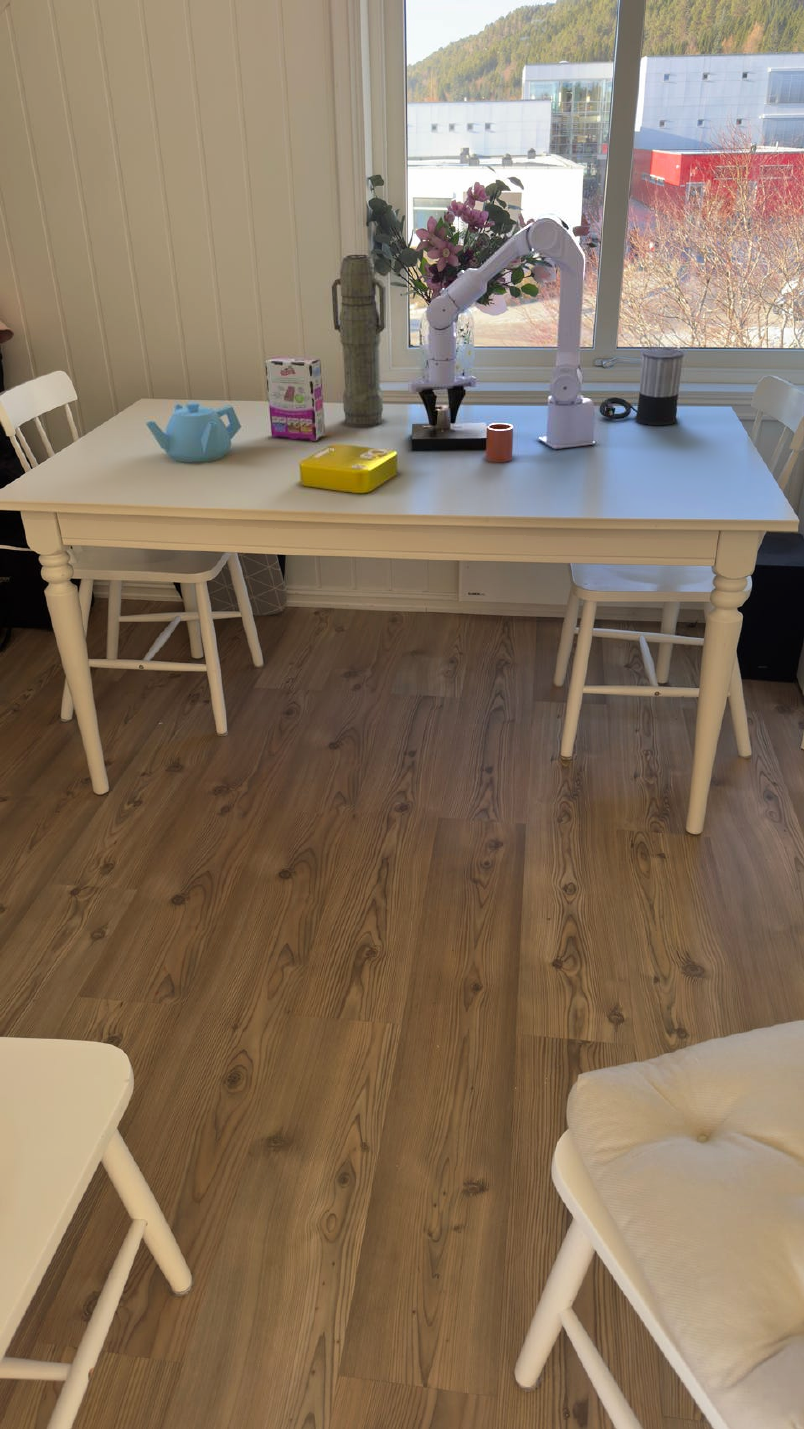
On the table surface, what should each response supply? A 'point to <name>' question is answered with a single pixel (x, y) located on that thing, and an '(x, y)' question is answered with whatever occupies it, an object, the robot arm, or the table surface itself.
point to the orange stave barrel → (499, 442)
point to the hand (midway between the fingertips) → (442, 423)
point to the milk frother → (653, 389)
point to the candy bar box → (295, 398)
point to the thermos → (360, 339)
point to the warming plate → (449, 437)
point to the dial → (442, 417)
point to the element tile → (348, 468)
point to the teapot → (197, 433)
